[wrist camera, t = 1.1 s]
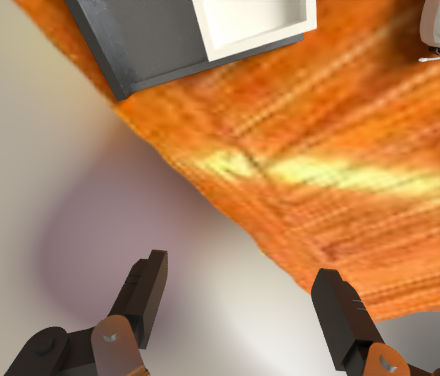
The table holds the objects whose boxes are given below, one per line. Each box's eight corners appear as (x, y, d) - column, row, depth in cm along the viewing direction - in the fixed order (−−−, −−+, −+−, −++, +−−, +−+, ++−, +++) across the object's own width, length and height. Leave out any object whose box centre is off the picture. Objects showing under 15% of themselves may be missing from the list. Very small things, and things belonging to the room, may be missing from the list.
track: (65, -39, 24) (40, -46, 20) (288, -138, 20) (299, -167, 16) (129, 92, 31) (117, 101, 28) (299, 39, 27) (309, 43, 24)
